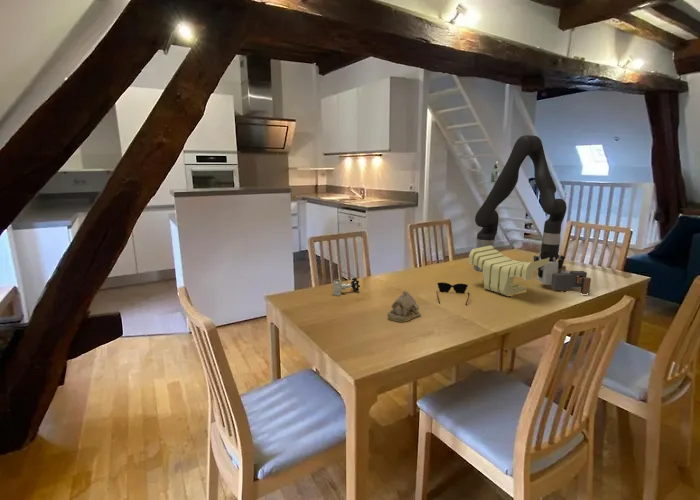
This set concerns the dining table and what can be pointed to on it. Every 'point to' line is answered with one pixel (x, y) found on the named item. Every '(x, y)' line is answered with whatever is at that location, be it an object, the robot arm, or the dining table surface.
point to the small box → (548, 272)
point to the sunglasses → (457, 287)
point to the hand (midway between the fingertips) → (546, 276)
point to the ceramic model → (404, 308)
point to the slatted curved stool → (502, 270)
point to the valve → (344, 286)
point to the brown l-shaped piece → (579, 281)
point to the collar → (566, 280)
